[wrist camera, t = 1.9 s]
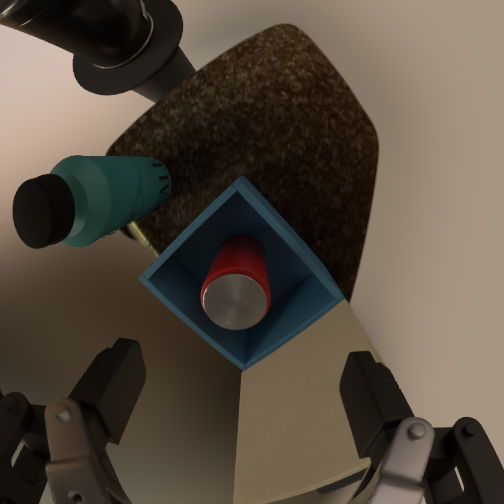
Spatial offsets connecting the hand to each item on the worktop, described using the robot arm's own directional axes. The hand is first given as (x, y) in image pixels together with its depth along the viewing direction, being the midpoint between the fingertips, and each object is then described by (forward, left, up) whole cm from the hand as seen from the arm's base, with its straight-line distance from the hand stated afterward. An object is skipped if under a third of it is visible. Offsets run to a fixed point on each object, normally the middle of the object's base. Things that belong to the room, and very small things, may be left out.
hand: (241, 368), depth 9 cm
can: (+2, -3, -22) cm, 22 cm away
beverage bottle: (-12, -5, -23) cm, 26 cm away
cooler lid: (+9, -3, -6) cm, 11 cm away
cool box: (+2, -3, -23) cm, 23 cm away
